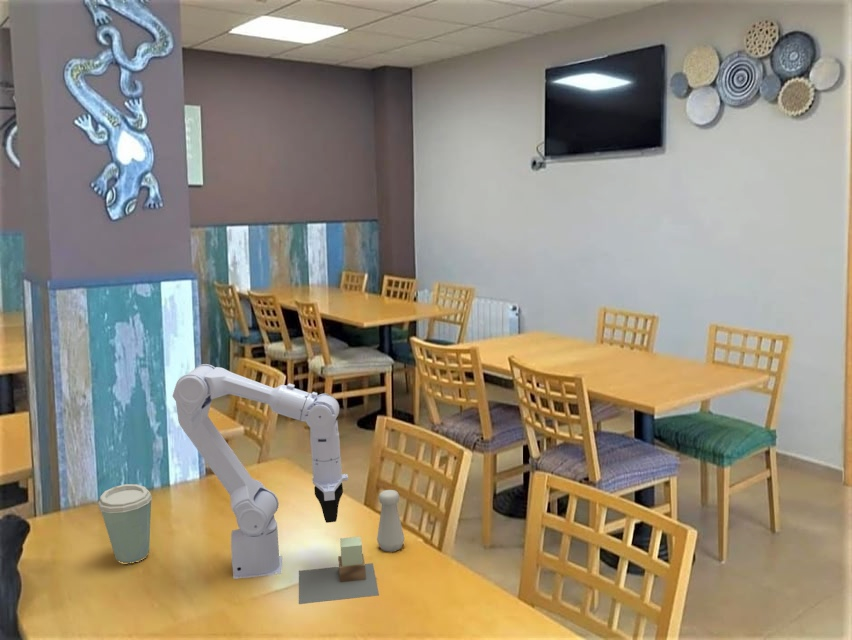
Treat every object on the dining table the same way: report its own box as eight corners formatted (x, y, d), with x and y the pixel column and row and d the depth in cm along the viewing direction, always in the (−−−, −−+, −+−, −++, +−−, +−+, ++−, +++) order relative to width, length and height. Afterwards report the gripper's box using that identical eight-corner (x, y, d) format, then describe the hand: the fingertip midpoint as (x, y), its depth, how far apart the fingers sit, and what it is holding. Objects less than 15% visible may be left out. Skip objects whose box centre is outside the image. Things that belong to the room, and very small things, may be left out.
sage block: (342, 566, 151) (341, 547, 151) (341, 557, 155) (340, 538, 154) (362, 564, 152) (361, 545, 151) (361, 555, 156) (360, 536, 155)
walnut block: (340, 582, 151) (339, 567, 151) (338, 570, 156) (338, 556, 156) (365, 579, 152) (365, 565, 151) (363, 567, 157) (363, 553, 156)
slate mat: (298, 606, 144) (298, 603, 144) (299, 573, 156) (298, 570, 156) (379, 598, 146) (379, 595, 146) (372, 565, 159) (372, 563, 159)
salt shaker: (401, 556, 162) (398, 498, 160) (374, 554, 163) (372, 496, 161) (407, 544, 168) (405, 487, 166) (381, 542, 169) (379, 486, 167)
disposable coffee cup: (166, 556, 165) (160, 490, 163) (118, 575, 158) (111, 506, 155) (142, 542, 173) (136, 478, 170) (95, 560, 165) (88, 493, 162)
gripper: (348, 466, 147) (353, 533, 150) (344, 443, 162) (348, 504, 164) (311, 470, 146) (316, 538, 149) (310, 446, 161) (315, 508, 163)
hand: (330, 520), depth 156 cm, fingers closed
